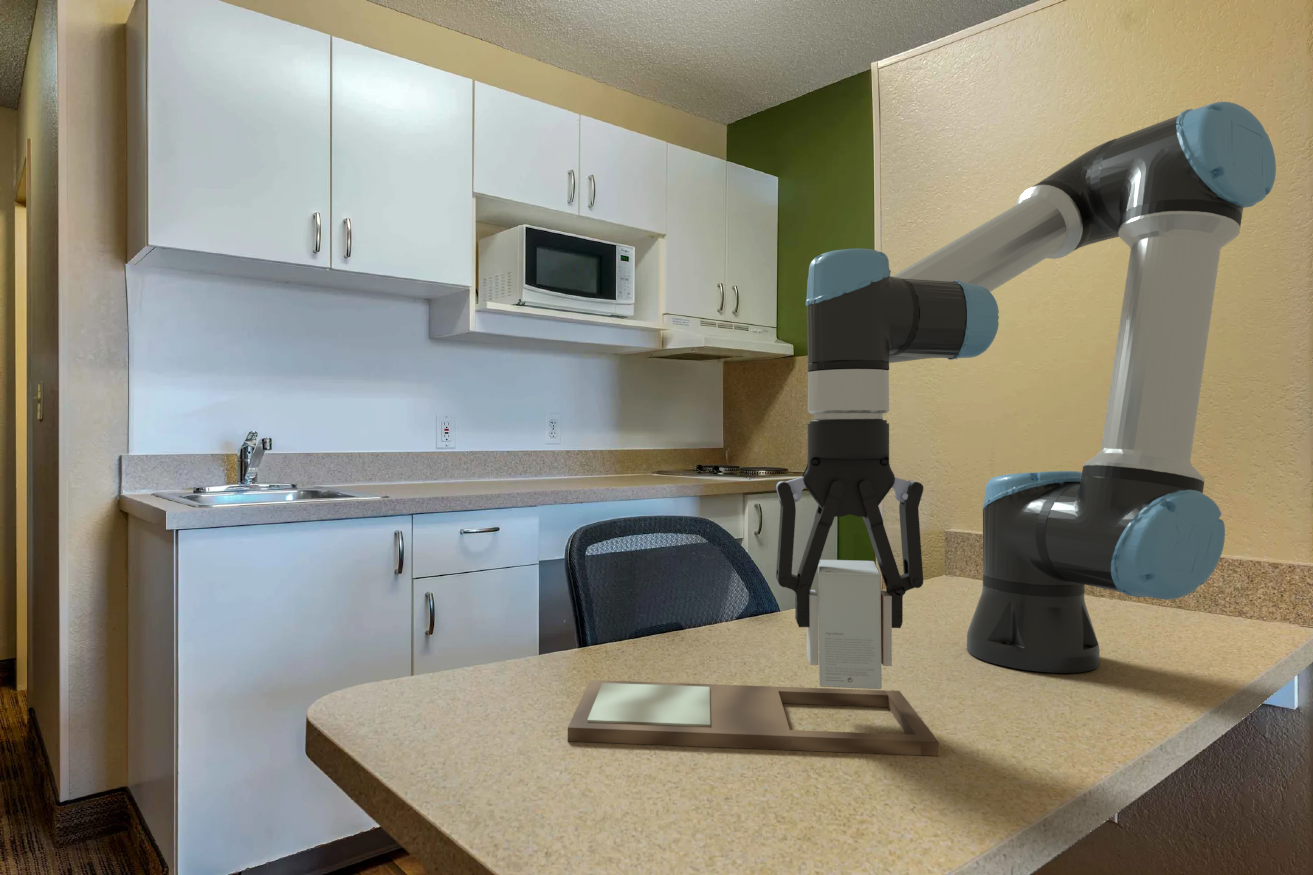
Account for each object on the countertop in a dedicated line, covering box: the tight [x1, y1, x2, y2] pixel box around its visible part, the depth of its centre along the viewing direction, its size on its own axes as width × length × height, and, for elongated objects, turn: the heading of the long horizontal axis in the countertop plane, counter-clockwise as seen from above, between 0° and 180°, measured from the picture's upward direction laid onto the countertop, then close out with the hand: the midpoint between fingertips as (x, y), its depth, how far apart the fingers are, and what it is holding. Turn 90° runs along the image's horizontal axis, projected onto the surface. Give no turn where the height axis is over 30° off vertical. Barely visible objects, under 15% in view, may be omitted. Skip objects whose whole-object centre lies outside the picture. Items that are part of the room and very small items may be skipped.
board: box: [567, 679, 940, 757], centre depth 78 cm, size 32×14×1 cm, turn 87°
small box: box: [817, 559, 883, 690], centre depth 77 cm, size 8×6×10 cm
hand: (848, 660), depth 77 cm, fingers closed on small box, 6 cm apart
